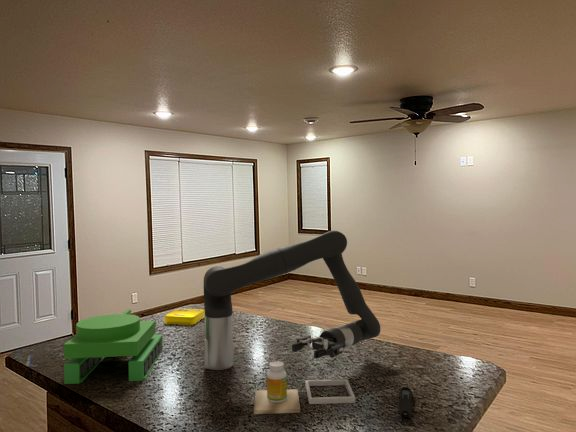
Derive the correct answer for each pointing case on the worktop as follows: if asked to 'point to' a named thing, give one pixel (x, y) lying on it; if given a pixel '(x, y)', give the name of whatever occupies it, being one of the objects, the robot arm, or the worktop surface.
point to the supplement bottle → (276, 382)
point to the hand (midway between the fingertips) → (303, 351)
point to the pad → (267, 407)
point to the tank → (112, 345)
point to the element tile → (184, 316)
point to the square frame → (329, 399)
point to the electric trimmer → (405, 402)
